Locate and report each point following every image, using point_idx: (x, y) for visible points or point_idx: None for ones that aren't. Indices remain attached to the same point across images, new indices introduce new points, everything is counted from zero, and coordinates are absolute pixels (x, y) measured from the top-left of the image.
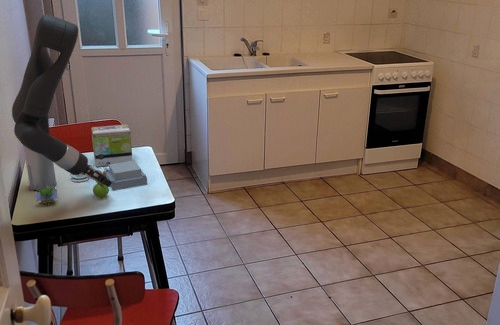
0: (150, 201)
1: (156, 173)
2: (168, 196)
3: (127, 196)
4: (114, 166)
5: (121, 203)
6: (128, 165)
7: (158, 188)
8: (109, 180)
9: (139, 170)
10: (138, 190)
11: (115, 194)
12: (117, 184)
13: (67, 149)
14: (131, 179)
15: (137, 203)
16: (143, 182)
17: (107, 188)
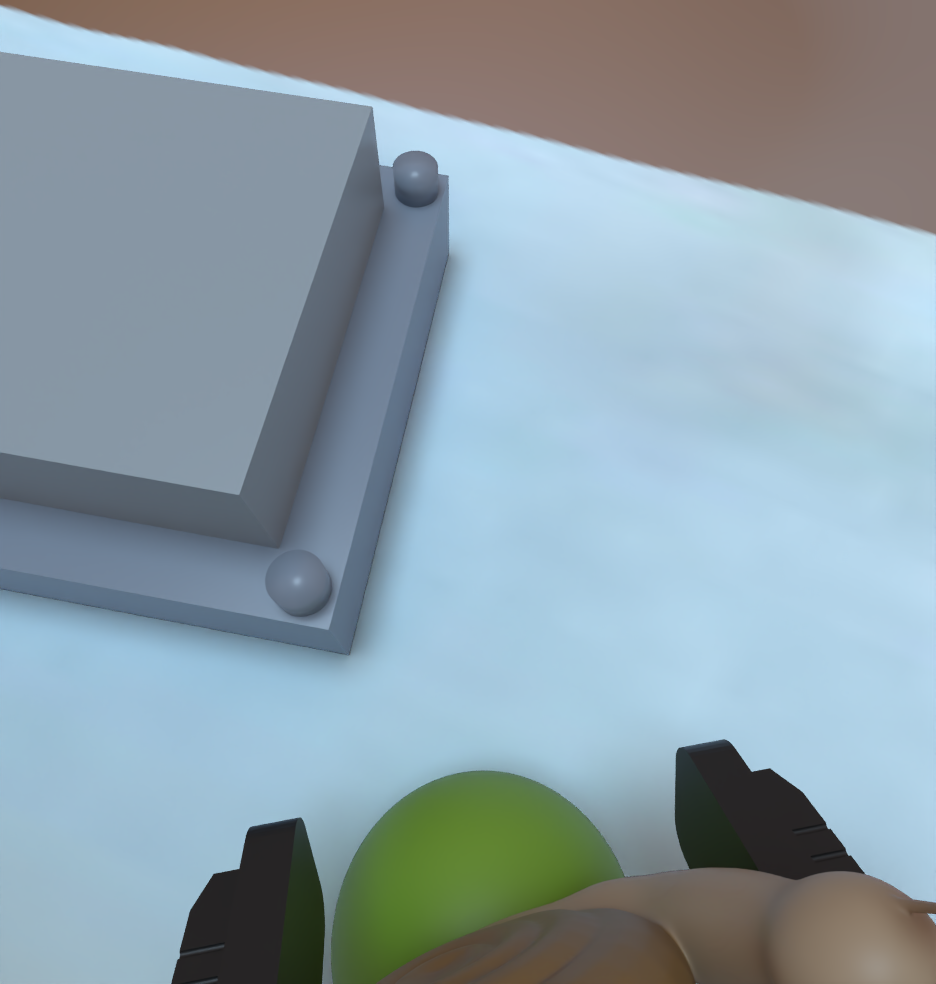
0: (927, 407)
1: (238, 84)
2: (872, 224)
3: (657, 565)
4: None
5: (844, 726)
6: (84, 178)
7: (623, 214)
8: (769, 805)
9: (367, 145)
10: (553, 388)
11: (503, 675)
12: (359, 555)
13: None
14: (395, 340)
15: (927, 549)
16: (440, 262)
17: (584, 822)
